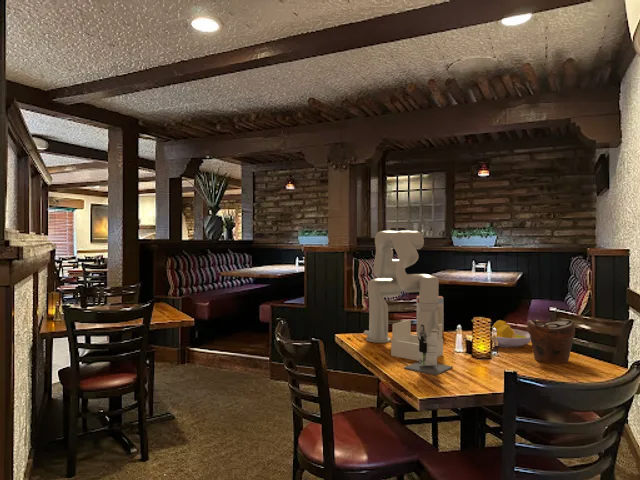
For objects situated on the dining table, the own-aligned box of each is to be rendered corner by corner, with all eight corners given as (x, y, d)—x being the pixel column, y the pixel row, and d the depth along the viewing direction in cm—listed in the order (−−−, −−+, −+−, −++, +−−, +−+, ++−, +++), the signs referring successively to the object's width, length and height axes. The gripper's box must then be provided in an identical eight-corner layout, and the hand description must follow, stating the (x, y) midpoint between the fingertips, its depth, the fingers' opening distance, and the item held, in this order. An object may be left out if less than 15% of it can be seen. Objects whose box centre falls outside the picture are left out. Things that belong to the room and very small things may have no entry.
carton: (391, 355, 208) (391, 324, 208) (410, 349, 221) (410, 319, 221) (424, 362, 198) (425, 328, 198) (442, 354, 210) (443, 323, 210)
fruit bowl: (541, 344, 233) (541, 321, 233) (519, 353, 214) (519, 328, 214) (487, 336, 253) (487, 315, 253) (462, 343, 233) (462, 321, 233)
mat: (404, 368, 187) (404, 367, 187) (421, 361, 198) (421, 360, 198) (436, 375, 178) (436, 373, 178) (452, 368, 189) (452, 366, 189)
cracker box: (442, 333, 258) (442, 295, 258) (443, 336, 252) (444, 297, 252) (416, 333, 259) (416, 295, 259) (417, 335, 253) (417, 296, 253)
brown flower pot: (516, 357, 207) (517, 316, 206) (549, 353, 214) (550, 314, 214) (549, 368, 190) (550, 324, 190) (585, 363, 198) (586, 321, 197)
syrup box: (419, 362, 191) (419, 326, 191) (433, 361, 191) (433, 326, 191) (423, 365, 185) (423, 329, 185) (437, 365, 186) (438, 329, 185)
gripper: (430, 303, 197) (430, 345, 197) (409, 308, 184) (408, 352, 184) (447, 305, 192) (446, 348, 192) (426, 310, 179) (426, 356, 179)
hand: (428, 350), depth 188 cm, fingers closed on syrup box, 8 cm apart
